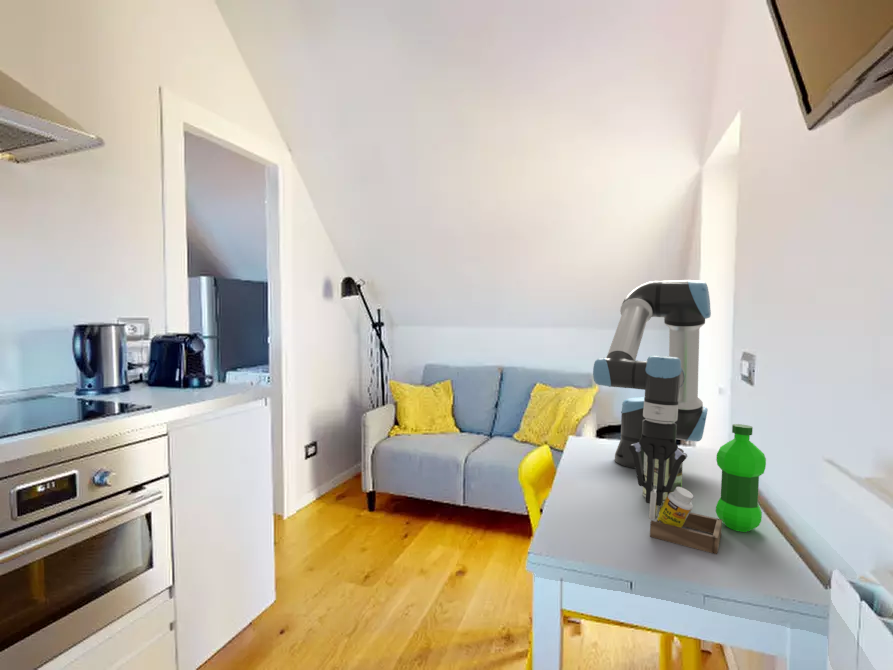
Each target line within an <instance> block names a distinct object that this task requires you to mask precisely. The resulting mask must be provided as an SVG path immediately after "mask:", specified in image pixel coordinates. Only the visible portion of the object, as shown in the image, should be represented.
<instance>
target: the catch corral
mask: <svg viewBox="0 0 893 670" xmlns="http://www.w3.org/2000/svg"><path fill="white" fill-rule="evenodd" d="M658 507H659V510H658V511H660V509H661V507H662V505H661V506H658ZM687 528H688V529H687ZM722 528H723V522H722V519H719V518H718V517H717V518H716V517H712V516H707V515H705V514H704V515H703V514H701V513H700V514H699V513H694V512H691V511H690V513H689V515H688V517H687V519H686V520H685V522H684V524H683V526H682V528H681V527H677V526H673V525H668V524H664V523H660V522H656V521H655V520H653V519H650V529H649V537H650V538H654V539H658V540H660V541H661V540H662V541H665V542H668V543H672V544H676V545H679V546H684V547H688V548H692V549H695V550H699V551H703V552H706V553H711V554H714V555H718V552H719V547H720V543H721V538H722V531H723V530H722ZM692 529H693V530H692Z"/></svg>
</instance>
